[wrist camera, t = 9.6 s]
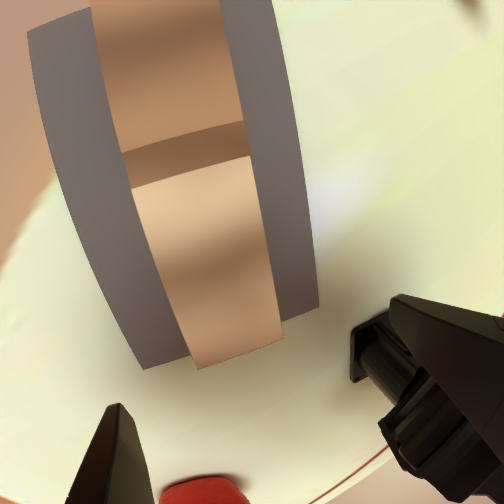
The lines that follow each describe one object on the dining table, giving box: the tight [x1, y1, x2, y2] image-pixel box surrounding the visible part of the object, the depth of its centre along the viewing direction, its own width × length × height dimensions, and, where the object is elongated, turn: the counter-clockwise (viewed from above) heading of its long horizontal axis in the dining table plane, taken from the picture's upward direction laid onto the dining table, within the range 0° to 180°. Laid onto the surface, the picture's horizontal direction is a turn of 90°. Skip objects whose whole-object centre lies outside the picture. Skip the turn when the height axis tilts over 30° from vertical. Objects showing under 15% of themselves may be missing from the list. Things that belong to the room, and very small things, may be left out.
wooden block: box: [90, 0, 251, 189], centre depth 12 cm, size 8×5×2 cm, turn 12°
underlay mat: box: [27, 0, 319, 370], centre depth 15 cm, size 20×12×1 cm, turn 12°
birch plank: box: [131, 155, 283, 370], centre depth 16 cm, size 11×5×2 cm, turn 12°
